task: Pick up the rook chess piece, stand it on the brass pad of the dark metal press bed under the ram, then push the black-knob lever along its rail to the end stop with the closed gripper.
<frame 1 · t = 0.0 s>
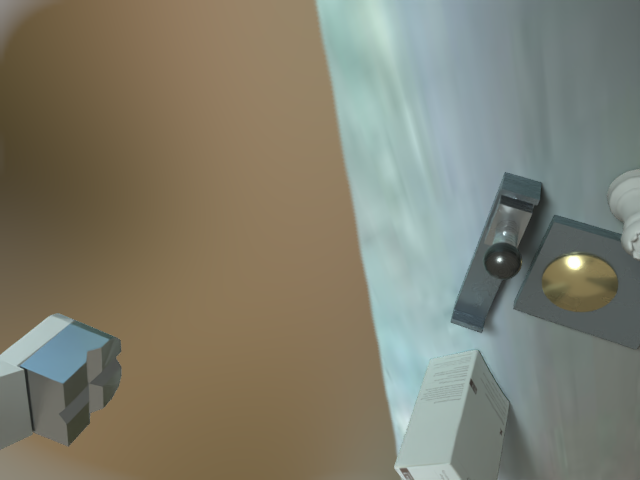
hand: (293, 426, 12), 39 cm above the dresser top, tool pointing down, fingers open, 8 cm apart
rook chess piece: (637, 190, 46), on the dresser top
lever: (505, 242, 46), point 6 cm above the dresser top, slide at 0.0 cm
skincare box: (467, 377, 63), on the dresser top
press: (590, 278, 51), on the dresser top
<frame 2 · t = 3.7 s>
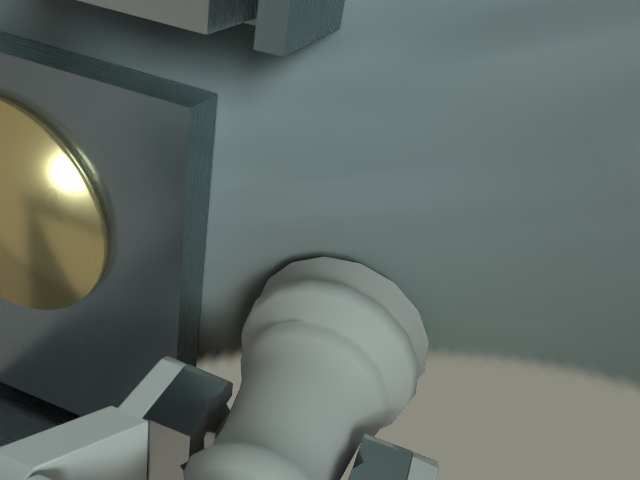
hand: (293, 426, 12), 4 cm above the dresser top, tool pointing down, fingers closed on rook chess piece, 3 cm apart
rook chess piece: (346, 320, 15), on the dresser top, touching gripper
press: (45, 219, 17), on the dresser top
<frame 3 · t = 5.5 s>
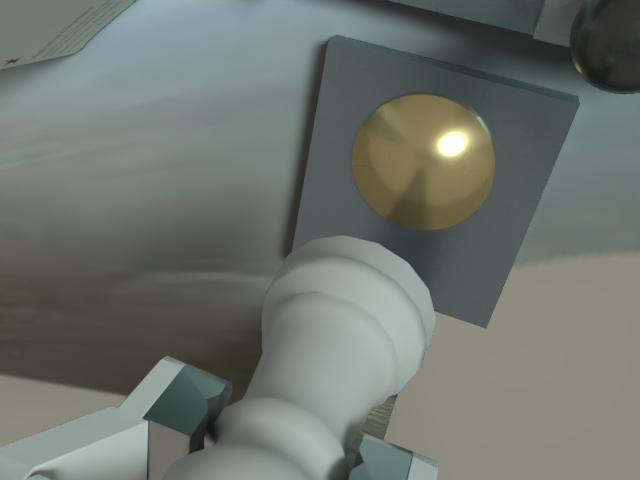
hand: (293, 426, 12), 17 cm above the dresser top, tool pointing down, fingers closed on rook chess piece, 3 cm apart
rook chess piece: (358, 296, 16), point 12 cm above the dresser top, touching gripper
lever: (620, 20, 16), point 6 cm above the dresser top, slide at 0.0 cm
press: (420, 174, 26), on the dresser top
when the fingers open (7 cm above the dresser top, at t = 7.6 s): rook chess piece stays where it is, resting on press.
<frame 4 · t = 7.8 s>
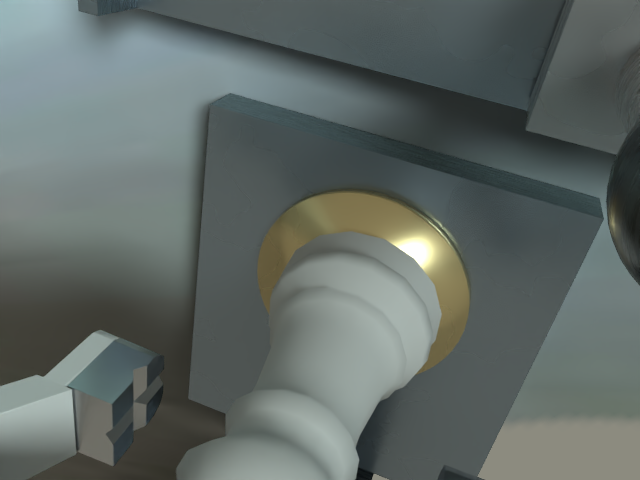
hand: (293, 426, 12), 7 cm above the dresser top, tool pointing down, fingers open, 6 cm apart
rook chess piece: (363, 292, 16), point 1 cm above the dresser top, touching press
press: (363, 293, 18), on the dresser top
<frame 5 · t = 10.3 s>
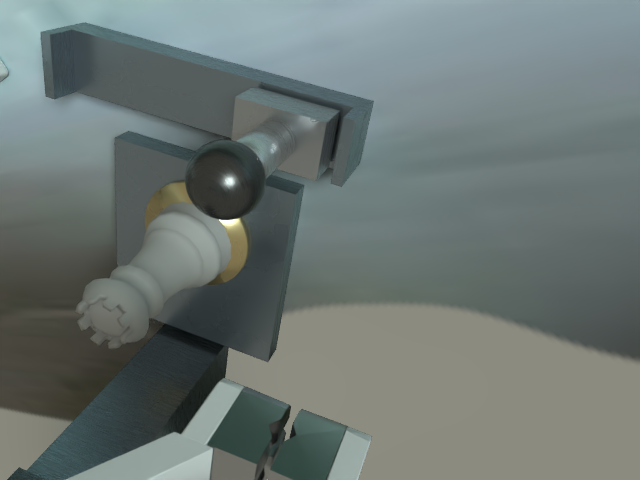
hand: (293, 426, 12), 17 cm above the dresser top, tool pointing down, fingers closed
rook chess piece: (198, 235, 31), point 1 cm above the dresser top, touching press
lever: (255, 156, 22), point 6 cm above the dresser top, slide at 0.0 cm
press: (207, 239, 32), on the dresser top
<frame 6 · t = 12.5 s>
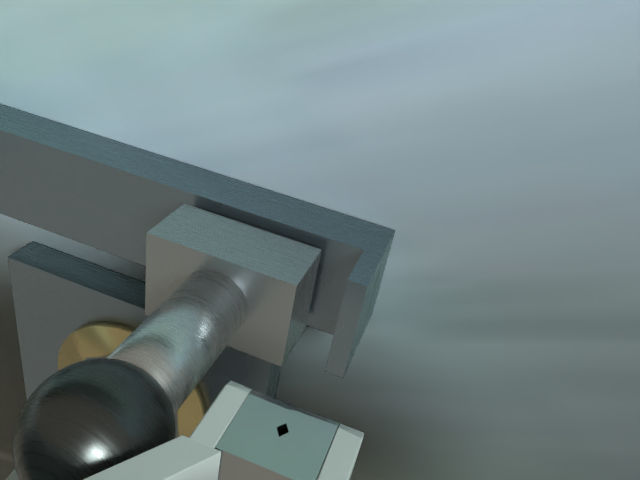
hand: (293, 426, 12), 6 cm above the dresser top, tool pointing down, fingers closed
lever: (170, 352, 13), point 6 cm above the dresser top, slide at 0.5 cm, touching gripper
press: (151, 388, 23), on the dresser top
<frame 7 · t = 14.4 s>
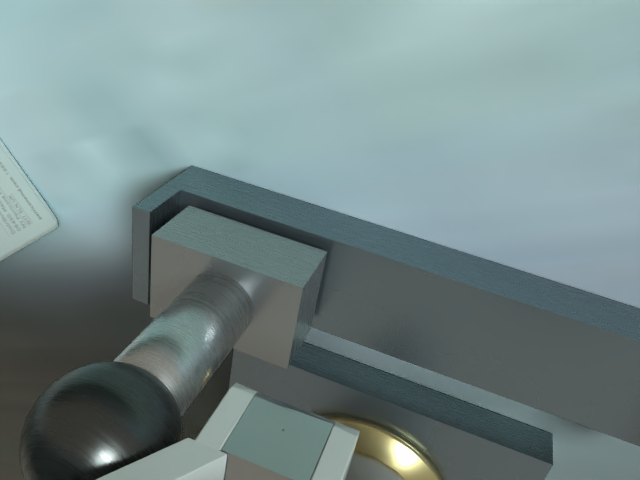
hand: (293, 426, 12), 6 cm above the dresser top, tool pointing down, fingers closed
lever: (176, 355, 13), point 6 cm above the dresser top, slide at 9.1 cm, touching gripper
press: (360, 474, 21), on the dresser top
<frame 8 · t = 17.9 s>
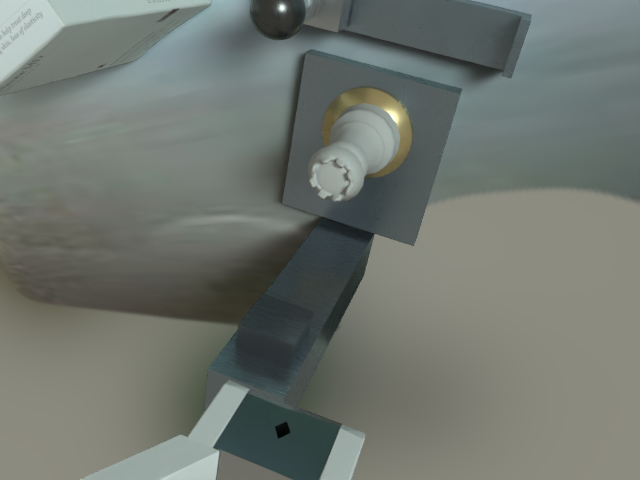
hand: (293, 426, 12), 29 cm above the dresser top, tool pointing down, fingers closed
rook chess piece: (368, 134, 38), point 1 cm above the dresser top, touching press
lever: (295, 5, 31), point 6 cm above the dresser top, slide at 9.0 cm
press: (368, 141, 40), on the dresser top
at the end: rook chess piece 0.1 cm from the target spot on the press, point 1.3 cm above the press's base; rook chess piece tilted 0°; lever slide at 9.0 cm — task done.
